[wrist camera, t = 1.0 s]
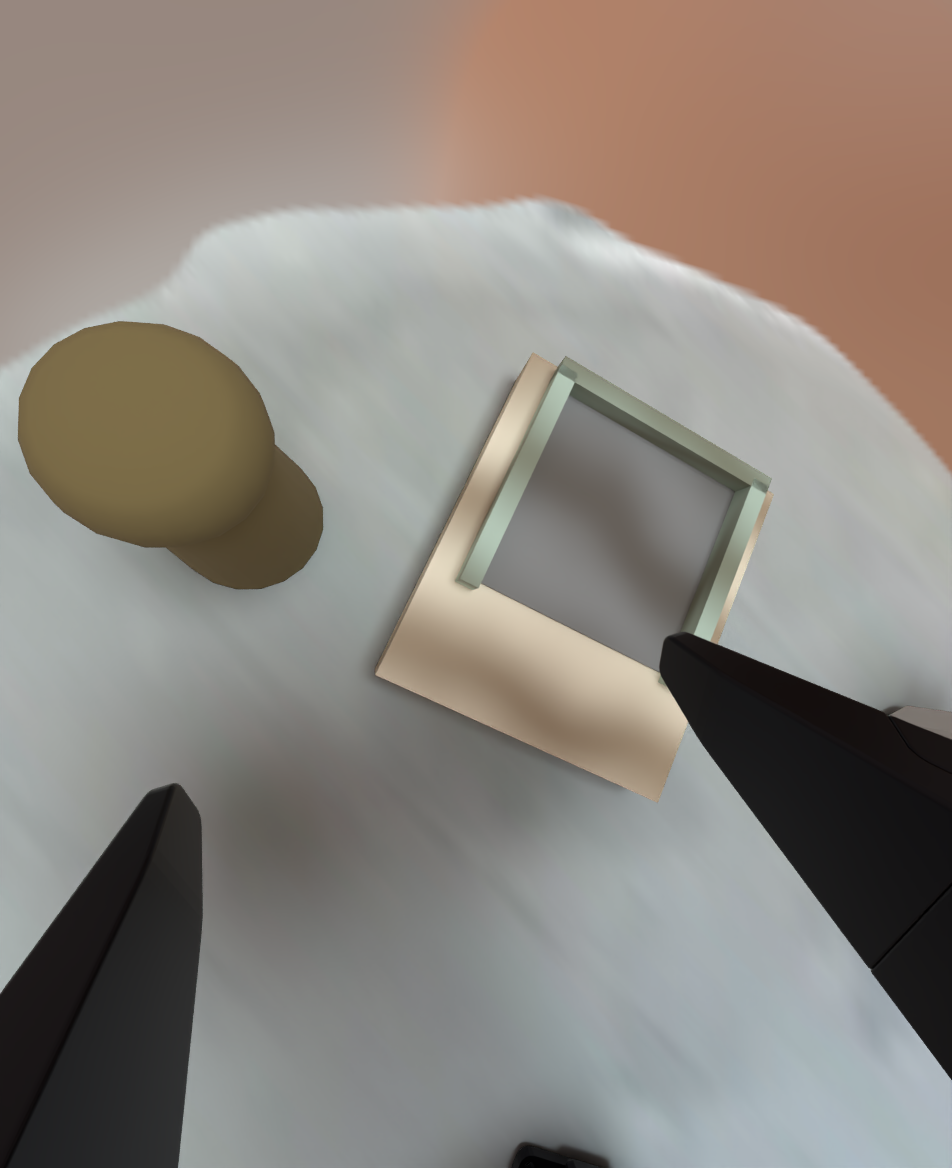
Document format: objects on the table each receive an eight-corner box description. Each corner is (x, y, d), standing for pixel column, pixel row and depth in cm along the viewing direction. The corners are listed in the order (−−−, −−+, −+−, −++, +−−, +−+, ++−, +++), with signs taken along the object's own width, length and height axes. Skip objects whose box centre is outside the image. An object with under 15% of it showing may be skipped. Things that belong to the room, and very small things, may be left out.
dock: (628, 784, 24) (674, 813, 20) (374, 669, 22) (376, 678, 18) (736, 506, 26) (795, 487, 22) (516, 379, 24) (542, 336, 21)
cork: (156, 579, 20) (-82, 530, 10) (183, 435, 21) (-14, 236, 10) (312, 598, 21) (255, 574, 11) (333, 461, 22) (298, 308, 11)
